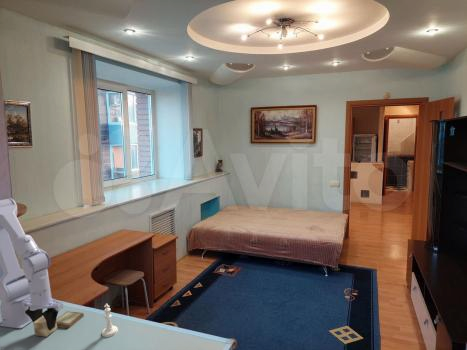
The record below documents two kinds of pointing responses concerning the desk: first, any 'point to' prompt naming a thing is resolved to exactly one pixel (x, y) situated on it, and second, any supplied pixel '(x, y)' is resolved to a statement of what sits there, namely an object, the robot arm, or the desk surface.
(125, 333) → the desk surface
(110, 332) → the chess piece
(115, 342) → the desk surface
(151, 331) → the desk surface
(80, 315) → the brown framed square tile
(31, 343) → the desk surface
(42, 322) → the birch cube
